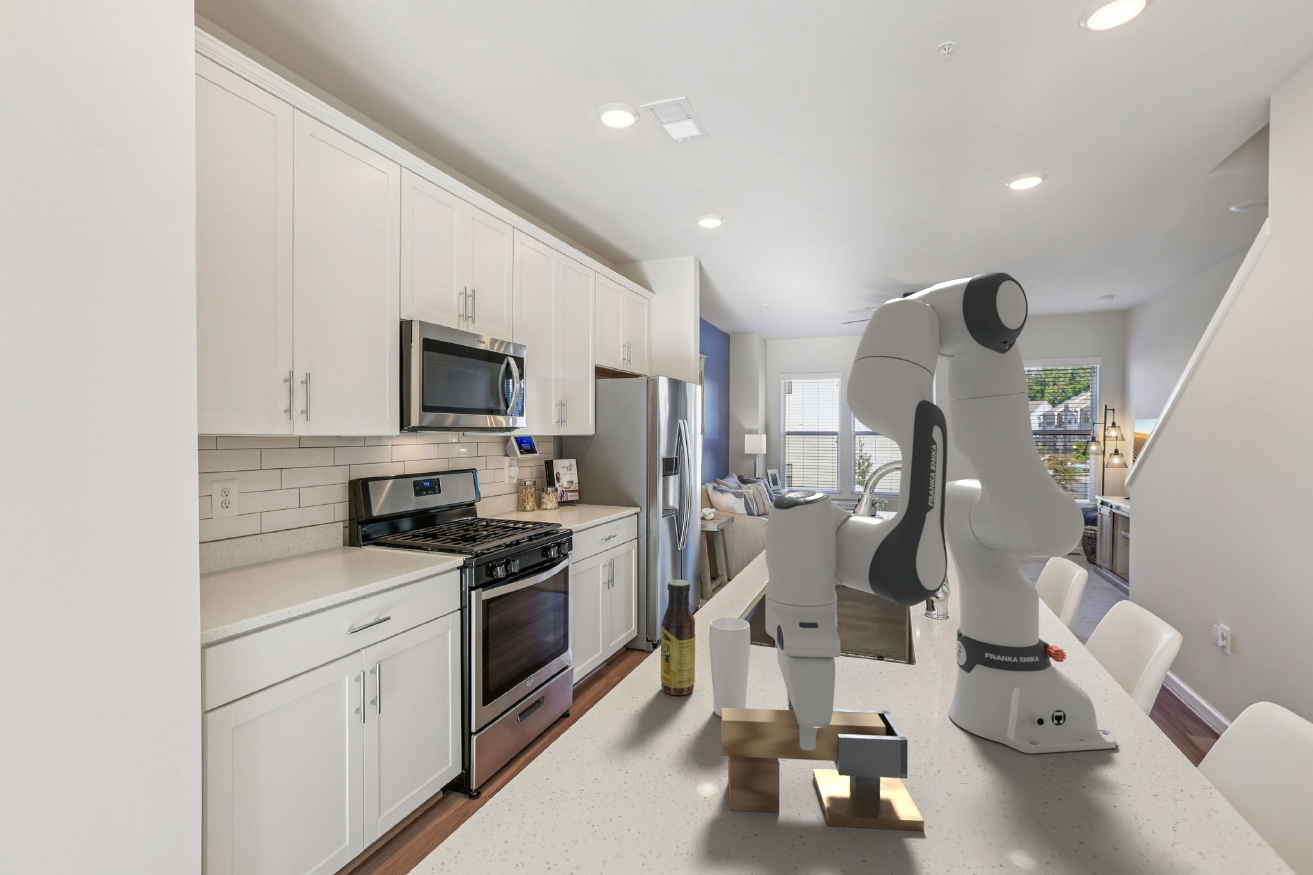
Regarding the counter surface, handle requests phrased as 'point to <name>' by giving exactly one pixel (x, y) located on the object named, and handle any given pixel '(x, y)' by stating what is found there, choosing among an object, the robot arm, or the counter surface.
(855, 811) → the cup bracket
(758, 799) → the walnut block
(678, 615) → the sauce bottle
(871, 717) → the oak rail
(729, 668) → the drinking glass
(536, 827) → the counter surface
